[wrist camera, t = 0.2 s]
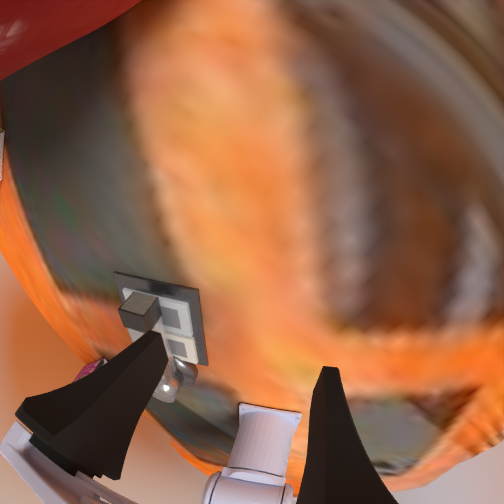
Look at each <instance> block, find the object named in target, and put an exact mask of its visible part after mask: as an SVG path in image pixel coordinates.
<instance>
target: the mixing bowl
mask: <svg viewBox="0 0 504 504" xmlns="http://www.w3.org/2000/svg"><path fill="white" fill-rule="evenodd" d="M140 1H141V0H0V81H1V80H2V79H4V78H6V77H7V76H9V75H11V74H13V73H14V72H16V71H18V70H20V69H22V68H23V67H25V66H27V65H29V64H31V63H32V62H34V61H36V60H38V59H40V58H42V57H44V56H46V55H48V54H50V53H51V52H53V51H55V50H57V49H59V48H61V47H63V46H65V45H67V44H69V43H71V42H73V41H75V40H77V39H79V38H80V37H82V36H85V35H87V34H89V33H90V32H92V31H94V30H96V29H98V28H100V27H101V26H103V25H105V24H107V23H108V22H110V21H111V20H113V19H115V18H116V17H118V16H119V15H121V14H123V13H124V12H126V11H127V10H129V9H130V8H132V7H133V6H134V5H136V4H137V3H138V2H140Z"/></svg>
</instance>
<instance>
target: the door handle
mask: <svg viewBox="0 0 504 504" xmlns="http://www.w3.org/2000/svg"><path fill="white" fill-rule="evenodd" d="M118 311H119V314H120V317H121V319H122V322H123V325H124V327H127V329H128V332H129V334H130V337H131V339H132V342H135V341H136V340H137V339H138V338H140V337H141V336H142V335H143V334H145V333H146V332H147V331H149V330H153V331H156V332H159V333H161V335H162V338H163V342H164V346H165V349H166V352H167V356H168V359H169V361H168V364H167V366H166V369H165V371H164V374H163V376H162V378H161V380H160V382H159V384H158V386H157V388H156V389H155V391H154V393H153V395H152V396H153V397H155V398H157V399H159V400H161V401H164V402H168V403H171V402H173V401H174V400H175V397H176V395H177V393H178V391H179V389H180V387H181V385H182V383H183V381H184V378H183V376H182V375H181V374H180V373H179V372H178V371H177V370H176V366H175V363H174V360H173V356H172V353H171V349H170V346H169V342H168V338H167V335H166V331H165V327H164V323H163V319H162V312H161V307H160V303H159V299H158V297H155V296H151V295H147V294H143V293H139V292H135V291H133V293H132V294H131V295H130V296H129V297H128V298H127V300H126V301H125V302H124V303H123V304H122V305H121V307H120V308H119V309H118Z"/></svg>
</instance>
